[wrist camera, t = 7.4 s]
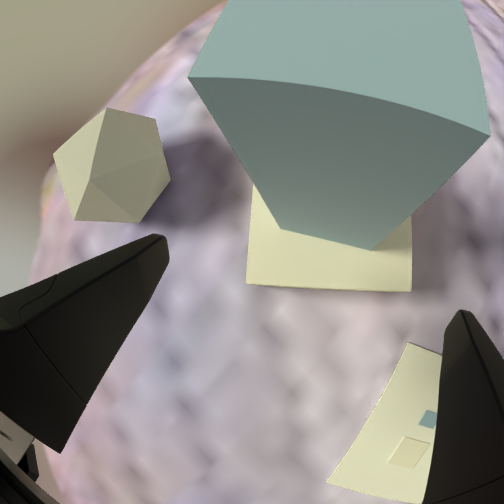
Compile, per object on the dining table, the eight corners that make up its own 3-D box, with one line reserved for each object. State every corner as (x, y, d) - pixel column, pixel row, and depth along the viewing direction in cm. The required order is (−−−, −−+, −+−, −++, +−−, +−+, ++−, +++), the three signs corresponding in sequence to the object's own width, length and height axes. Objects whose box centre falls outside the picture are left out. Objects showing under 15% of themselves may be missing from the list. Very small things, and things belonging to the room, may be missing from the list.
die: (174, 122, 25) (72, 93, 18) (213, 144, 19) (67, 102, 13) (143, 205, 27) (46, 187, 21) (169, 253, 21) (37, 235, 15)
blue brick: (370, 250, 15) (490, 135, 3) (280, 228, 17) (187, 77, 4) (382, 181, 16) (460, 0, 4) (296, 162, 17) (250, -33, 5)
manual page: (418, 503, 15) (419, 505, 15) (326, 481, 17) (326, 483, 17) (497, 377, 16) (499, 378, 15) (407, 342, 18) (408, 342, 18)
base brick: (393, 292, 18) (411, 291, 15) (259, 285, 20) (245, 283, 17) (391, 163, 20) (404, 137, 16) (267, 159, 22) (257, 132, 18)
